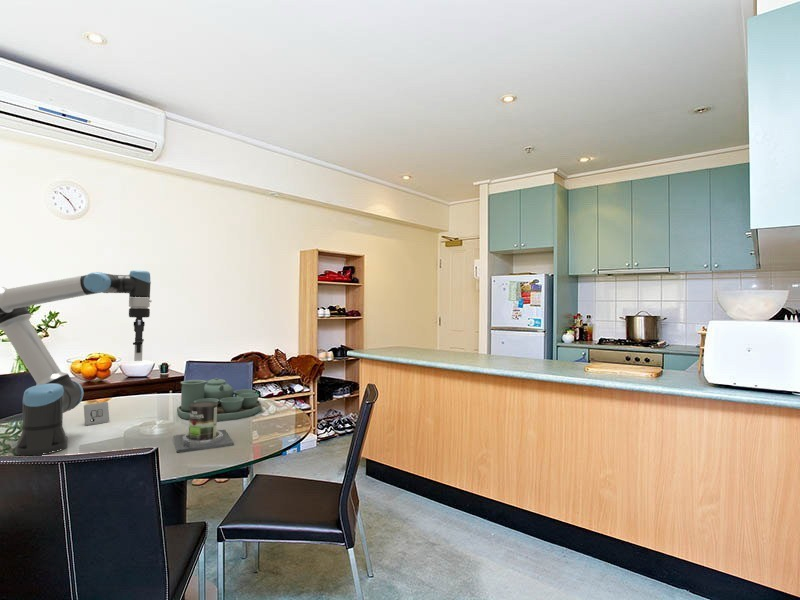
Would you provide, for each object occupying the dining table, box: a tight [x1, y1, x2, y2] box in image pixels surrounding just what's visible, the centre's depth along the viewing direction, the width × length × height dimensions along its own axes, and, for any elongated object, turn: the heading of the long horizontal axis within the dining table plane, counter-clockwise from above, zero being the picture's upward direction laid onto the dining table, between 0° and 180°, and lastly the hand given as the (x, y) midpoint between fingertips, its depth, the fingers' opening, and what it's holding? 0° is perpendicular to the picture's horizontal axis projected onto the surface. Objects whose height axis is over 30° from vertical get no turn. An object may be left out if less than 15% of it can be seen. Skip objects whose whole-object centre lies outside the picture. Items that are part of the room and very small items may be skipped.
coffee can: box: [188, 401, 218, 440], centre depth 178 cm, size 10×10×14 cm
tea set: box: [176, 377, 262, 422], centre depth 227 cm, size 40×40×16 cm
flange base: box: [172, 429, 235, 453], centre depth 178 cm, size 20×20×2 cm
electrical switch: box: [83, 401, 110, 426], centre depth 202 cm, size 9×5×9 cm, turn 141°
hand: (138, 358), depth 185 cm, fingers open, 13 cm apart
